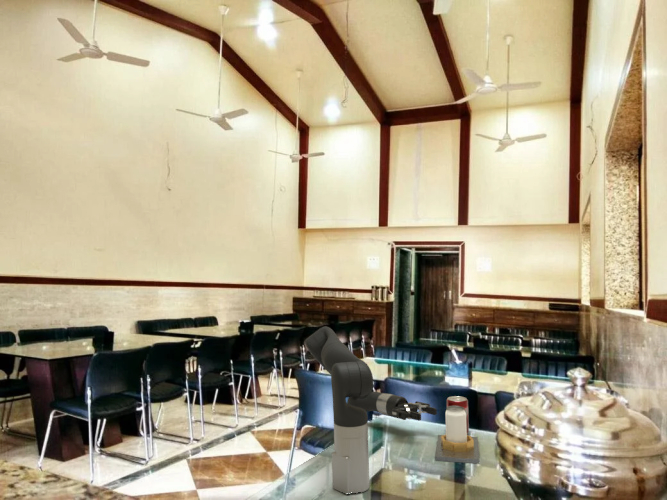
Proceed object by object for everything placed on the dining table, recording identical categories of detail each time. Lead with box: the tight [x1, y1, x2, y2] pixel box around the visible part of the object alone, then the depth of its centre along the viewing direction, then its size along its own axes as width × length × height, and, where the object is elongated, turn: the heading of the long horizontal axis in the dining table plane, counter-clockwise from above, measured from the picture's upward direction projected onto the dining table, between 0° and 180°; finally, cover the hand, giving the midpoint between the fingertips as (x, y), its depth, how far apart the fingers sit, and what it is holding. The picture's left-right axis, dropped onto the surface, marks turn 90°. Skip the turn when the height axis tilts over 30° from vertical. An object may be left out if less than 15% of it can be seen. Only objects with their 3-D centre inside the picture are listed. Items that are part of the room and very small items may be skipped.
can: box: [444, 406, 468, 443], centre depth 158 cm, size 6×6×12 cm
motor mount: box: [434, 433, 480, 464], centre depth 157 cm, size 20×13×4 cm, turn 165°
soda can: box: [446, 395, 470, 435], centre depth 174 cm, size 7×7×12 cm
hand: (428, 414), depth 166 cm, fingers open, 8 cm apart
